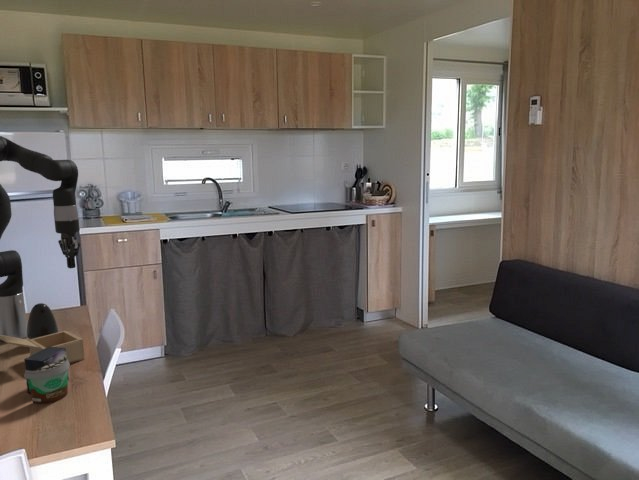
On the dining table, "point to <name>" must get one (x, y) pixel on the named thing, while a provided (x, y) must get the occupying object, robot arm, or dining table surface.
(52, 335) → the carton
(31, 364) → the small box
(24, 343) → the flap
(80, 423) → the dining table surface
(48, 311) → the black egg-shaped piece
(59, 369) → the food container
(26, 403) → the dining table surface
